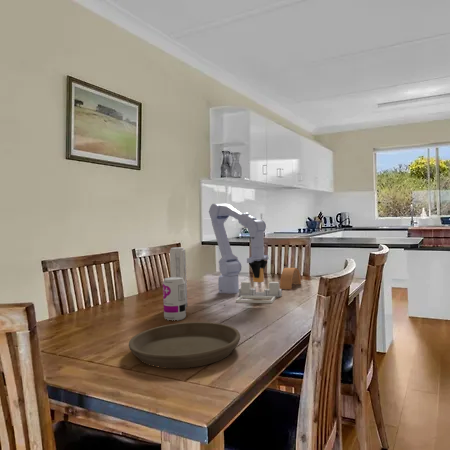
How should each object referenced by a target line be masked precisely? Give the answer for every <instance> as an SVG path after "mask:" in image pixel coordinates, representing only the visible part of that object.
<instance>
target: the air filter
mask: <svg viewBox="0 0 450 450" xmlns="http://www.w3.org/2000/svg"><path fill="white" fill-rule="evenodd" d="M169 266H170V267H169V268H170V277H183V279H184V281H185V300H186V308H188V287H187V286H188V285H187V283H188V281H187V261H186V249H185V247H183V246H181V247H180V246H179V247H170V249H169Z"/></svg>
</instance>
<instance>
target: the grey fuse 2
mask: <svg viewBox="0 0 450 450" xmlns="http://www.w3.org/2000/svg"><path fill="white" fill-rule="evenodd" d="M268 289H269V294H279V289H280V282H279V281H270V282H269V283H268Z"/></svg>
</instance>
